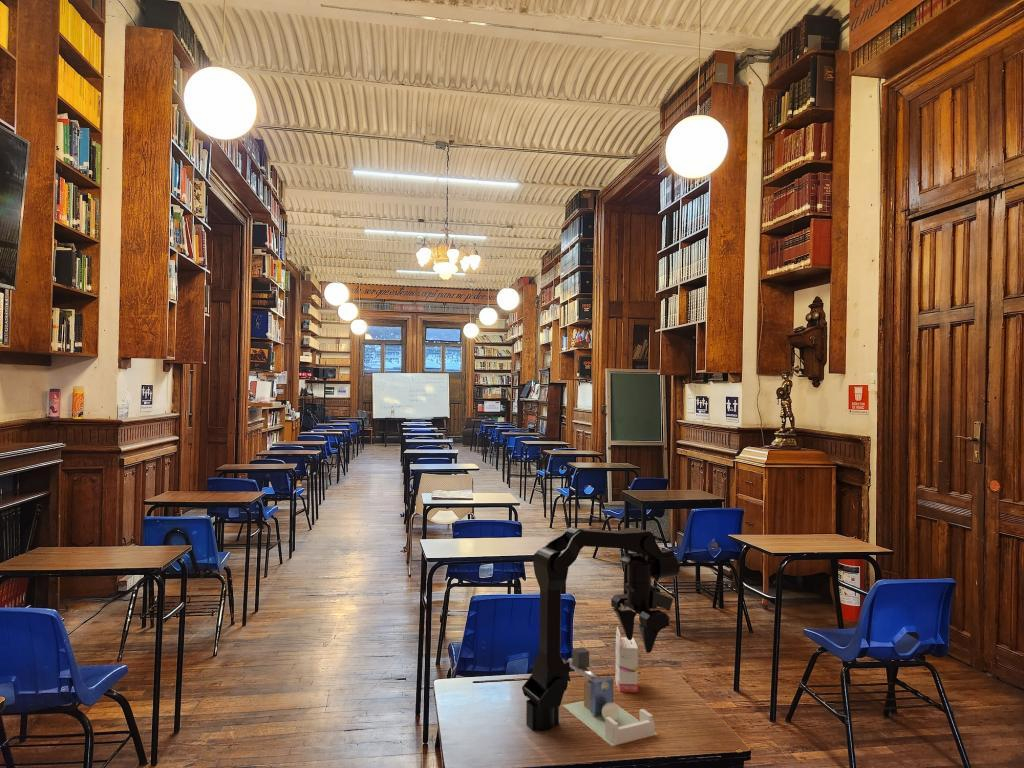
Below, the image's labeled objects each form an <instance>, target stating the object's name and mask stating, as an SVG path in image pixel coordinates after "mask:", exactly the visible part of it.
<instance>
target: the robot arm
mask: <svg viewBox="0 0 1024 768" xmlns="http://www.w3.org/2000/svg"><path fill="white" fill-rule="evenodd" d="M584 547H589V548H590V547H594V548H606V549H622V550H625V551H629V552H626V553H625V555H624V556H623V557H621V559H620V560H619V561H620V563H622V564H624V565H627V583H624V584H623V585H624V586H623V587H624V588H625V589H626V590H627V593H624V594H623V593H622V594H614V595H613V596H612V597H611V602H610V604H611V605H610V606H611V608H613V611H614V612H615V614H616V616H617V618H618V620H619V623H620V625H621V628H622V629H623V632H624V634H625V637H627V639H628V640H632V637H633V636H634V626H635V617H636V616H637V615H638V616H639V617H638V618H639V619H638V620H639V625H638V627H639V630H640V634H641V638H642V642H643V647H644V649H645V653H647V654H650V653H652V651H653V648H654V645H655V641H656V639H657V636H658V634H659V632H660V631H661V630H663V629H666V628H668V627H670V625H671V623H670V622H671V616H669V615H668V614H667V613H666V612H663V611H662V610H660V609H657V608H661V609H664V610H666V611H668V612H670V611H671V608H672V605H673V602H674V598H673V597H671V596H669V595H667V594H665V593H663V592H661V588H660V587H658V586H655V585H652V579H653V580H660V579H661V580H662V579H671V578H675V577H677V576H678V575H679V573H680V570H681V569H680V568H681V567H680V564H679V563H680V562H679V560H678V558H677V557H676V556H675V551H674V550H673V549H669V548H667V549H663V550H662V549H661V548H660V546H659V544H658V543H657V541H656V537H655V534H654V533H653V532H651V531H649V530H645V529H640V528H637V527H628V528H627V527H626V528H622V529H620V530H605V529H603V530H602V529H589V528H578V527H575V526H571V527H568V528H567V529H565V530H564V531H563V532H562V534H560V535H559V536H556V537H555V538H553V539H552V540H550V541H548V542H547V543H546V544H545V545H544V546H543V547H540V548H539V549H538V550H537V551H536V552H535V553H534V554H533V558H532V563H533V571H534V576H535V579H536V582H537V584H538V586H539V642H538V643H539V644H538V645H539V647H538V648H539V650H538V653H537V655H536V658H535V659H534V662H533V665H532V671H531V674H530V676H529V677H528V678H527V680H526V681H525V683H524V684H523V685H522V686H521V689H522V693H523V696H525V697H526V698H528V699H526V717H525V718H526V719H525V721H526V723H525V724H526V726H527V727H528V728H529V729H530V730H531V731H533V732H535V731H537V732H546V731H547V732H548V731H550V730H552V729H554V727H556V726H558V725H559V724H560V706H561V704H562V701H563V698H564V693H565V691H567V689H568V685H569V683H568V682H571V678H570V669H571V667H570V663H569V662H568V661H567V660H566V659H565V658H563V657H562V654H561V642H562V641H561V640H562V639H561V638H562V637H561V632H562V631H561V630H562V627H561V626H562V625H561V623H562V622H561V621H562V619H561V618H562V589H563V587H564V585H565V583H566V582H567V578H568V573H569V567H570V566H572V565H573V564H574V562H575V561H576V560H577V559H578V556H579V554H580V552H581V550H582V549H583V548H584ZM630 552H633V553H636V554H637V555H633V553H630ZM645 556H646V557H645Z"/></svg>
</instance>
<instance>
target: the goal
mask: <svg viewBox="0 0 1024 768" xmlns="http://www.w3.org/2000/svg"><path fill="white" fill-rule="evenodd" d="M638 714H639V719H638V720H639V722H637V723H633V724H629V725H625V726H621V727H618V723H617V722H615V721H614V720H613V719H612V718H610V717H606V718H605V737H607V738H608V739H609V740H610V741H612V742H613V743H614V744H615V745H614V746H618V745H622V744H626V743H629V741H630V742H634V741H637V739H638V740H641V738H642V739H645V737H646V738H650V737H653V735H654V732H655V720H654V715H653V714H652V713H650V712H648V711H647V710H646V709H644V708H641V709H639V713H638ZM649 736H650V737H649ZM654 736H655V735H654ZM633 740H634V741H633ZM625 742H626V743H625ZM621 743H622V744H621ZM617 744H618V745H617Z"/></svg>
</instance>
